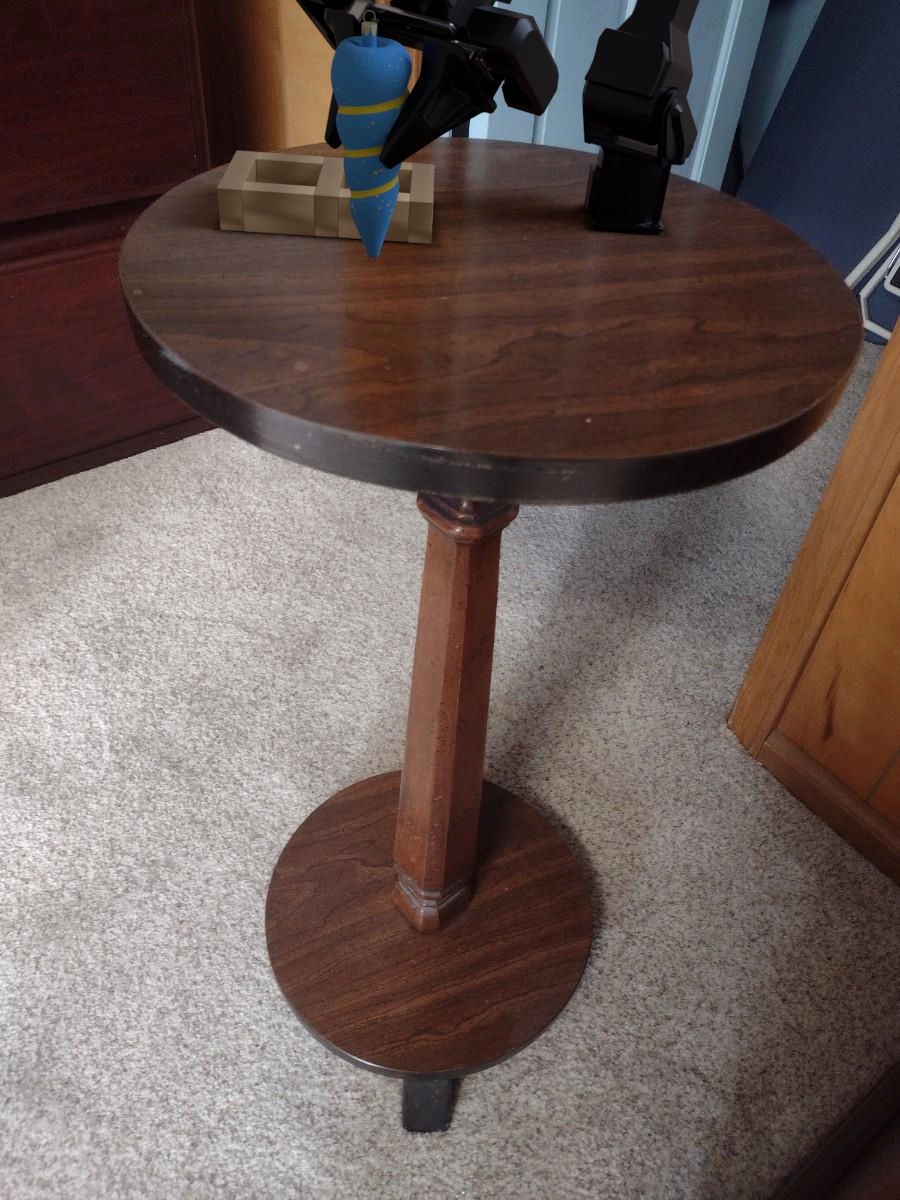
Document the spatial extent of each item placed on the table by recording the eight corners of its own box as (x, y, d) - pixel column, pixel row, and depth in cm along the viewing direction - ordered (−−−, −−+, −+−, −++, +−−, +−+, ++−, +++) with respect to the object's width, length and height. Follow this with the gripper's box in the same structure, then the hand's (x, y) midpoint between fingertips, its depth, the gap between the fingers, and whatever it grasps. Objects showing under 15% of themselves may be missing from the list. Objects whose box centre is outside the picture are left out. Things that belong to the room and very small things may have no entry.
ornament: (417, 269, 67) (428, 20, 56) (345, 275, 65) (343, 21, 55) (394, 239, 70) (400, 0, 60) (325, 245, 69) (319, 0, 58)
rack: (432, 203, 91) (434, 164, 89) (430, 244, 83) (433, 202, 81) (239, 189, 90) (236, 150, 88) (220, 230, 83) (216, 187, 80)
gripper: (308, -196, 58) (180, 35, 59) (557, -161, 50) (404, 109, 51) (395, -51, 68) (285, 146, 69) (615, -1, 60) (486, 223, 60)
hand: (356, 154), depth 62 cm, fingers closed on ornament, 4 cm apart
